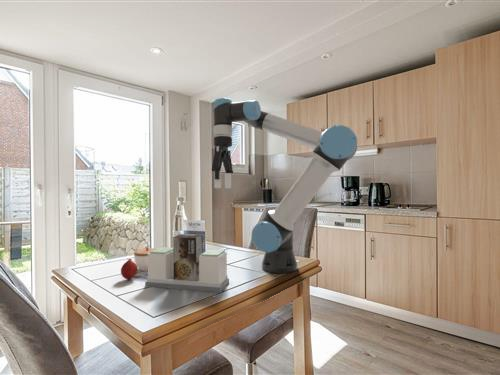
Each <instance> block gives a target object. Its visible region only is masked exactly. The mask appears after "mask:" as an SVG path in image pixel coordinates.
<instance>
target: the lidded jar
mask: <svg viewBox="0 0 500 375" xmlns="http://www.w3.org/2000/svg"><path fill="white" fill-rule="evenodd" d="M156 249H157V248H155V247H154V248H153V247H152V248H151V247H150V248H149V246H146V247H145V248H141V249H137V250H134V251H133V258H134V263H135V264H136V265H137V268H138V270H140V271H143V272H146V271H147V270H148V253H150V251H153V250H156ZM147 272H148V271H147Z"/></svg>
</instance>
